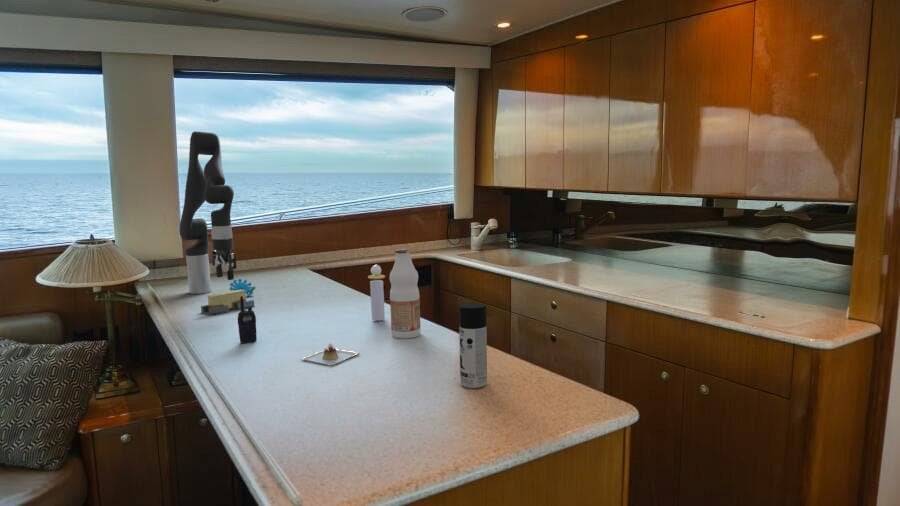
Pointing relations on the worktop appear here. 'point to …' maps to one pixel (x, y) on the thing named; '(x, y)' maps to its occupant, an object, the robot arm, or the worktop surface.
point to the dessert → (330, 355)
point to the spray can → (473, 345)
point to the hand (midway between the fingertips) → (225, 278)
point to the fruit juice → (404, 297)
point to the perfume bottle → (377, 294)
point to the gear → (242, 287)
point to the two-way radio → (246, 324)
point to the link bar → (226, 299)
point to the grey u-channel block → (225, 308)
